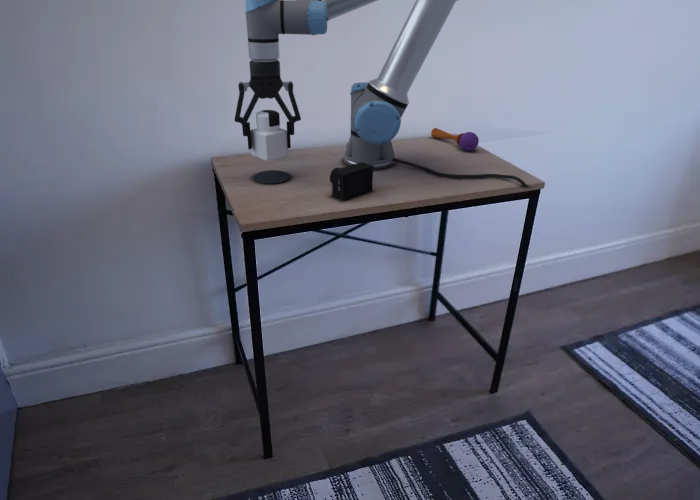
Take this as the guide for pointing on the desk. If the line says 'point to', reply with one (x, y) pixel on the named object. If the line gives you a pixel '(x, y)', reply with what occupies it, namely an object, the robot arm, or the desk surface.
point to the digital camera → (351, 181)
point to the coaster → (271, 177)
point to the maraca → (458, 138)
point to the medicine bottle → (268, 137)
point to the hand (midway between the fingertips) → (269, 147)
